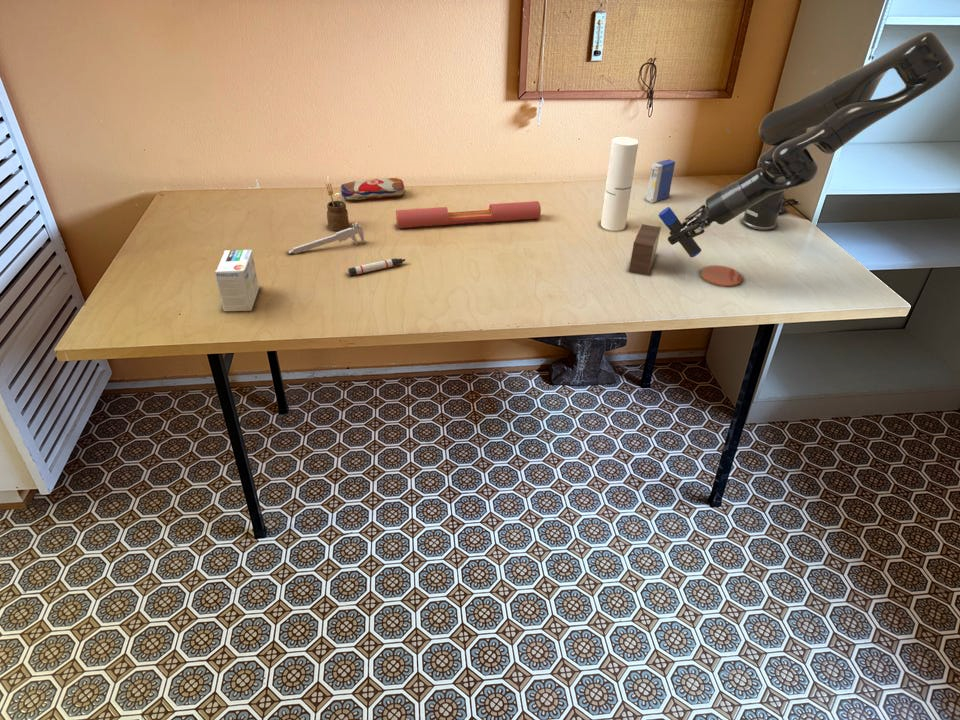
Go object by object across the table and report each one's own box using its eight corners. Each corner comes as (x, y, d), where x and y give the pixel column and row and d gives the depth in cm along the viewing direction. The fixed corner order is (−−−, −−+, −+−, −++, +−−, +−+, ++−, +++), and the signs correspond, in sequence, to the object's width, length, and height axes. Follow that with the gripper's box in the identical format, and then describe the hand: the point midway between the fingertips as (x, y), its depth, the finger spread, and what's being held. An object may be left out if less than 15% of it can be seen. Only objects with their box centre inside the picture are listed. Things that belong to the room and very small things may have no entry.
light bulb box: (232, 288, 172) (223, 249, 166) (260, 288, 173) (252, 248, 167) (223, 312, 164) (213, 271, 157) (252, 311, 164) (244, 270, 158)
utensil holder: (335, 233, 198) (331, 193, 191) (323, 225, 202) (318, 186, 195) (353, 227, 201) (349, 187, 194) (341, 220, 205) (337, 180, 198)
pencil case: (402, 204, 215) (401, 189, 212) (338, 203, 215) (336, 187, 212) (405, 190, 224) (405, 175, 221) (344, 189, 224) (342, 173, 221)
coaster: (703, 264, 187) (704, 262, 187) (742, 271, 185) (743, 269, 184) (699, 281, 180) (699, 279, 179) (739, 289, 177) (740, 287, 177)
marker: (351, 277, 178) (350, 270, 177) (348, 273, 180) (347, 266, 178) (407, 264, 184) (406, 258, 183) (404, 261, 186) (403, 254, 184)
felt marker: (653, 246, 186) (661, 203, 179) (700, 255, 182) (710, 211, 175) (651, 252, 183) (658, 208, 176) (698, 261, 180) (708, 216, 173)
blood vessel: (535, 214, 211) (537, 198, 208) (540, 221, 207) (541, 205, 204) (396, 223, 204) (395, 207, 201) (398, 231, 200) (397, 214, 197)
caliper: (363, 242, 194) (361, 221, 191) (364, 243, 194) (362, 222, 190) (288, 253, 188) (285, 231, 184) (289, 255, 187) (285, 233, 184)
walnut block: (637, 251, 193) (642, 223, 188) (655, 255, 191) (660, 227, 186) (629, 271, 184) (633, 242, 179) (648, 275, 182) (653, 246, 177)
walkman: (662, 194, 225) (668, 157, 218) (668, 197, 224) (675, 160, 216) (645, 200, 221) (651, 162, 214) (652, 202, 220) (658, 165, 213)
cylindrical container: (624, 231, 203) (638, 146, 188) (600, 229, 204) (611, 143, 189) (625, 221, 208) (638, 137, 194) (601, 219, 209) (612, 135, 195)
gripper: (736, 225, 166) (675, 261, 177) (741, 203, 177) (682, 238, 187) (718, 200, 164) (657, 238, 175) (724, 179, 175) (666, 216, 186)
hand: (670, 238), depth 181 cm, fingers closed on felt marker, 3 cm apart
